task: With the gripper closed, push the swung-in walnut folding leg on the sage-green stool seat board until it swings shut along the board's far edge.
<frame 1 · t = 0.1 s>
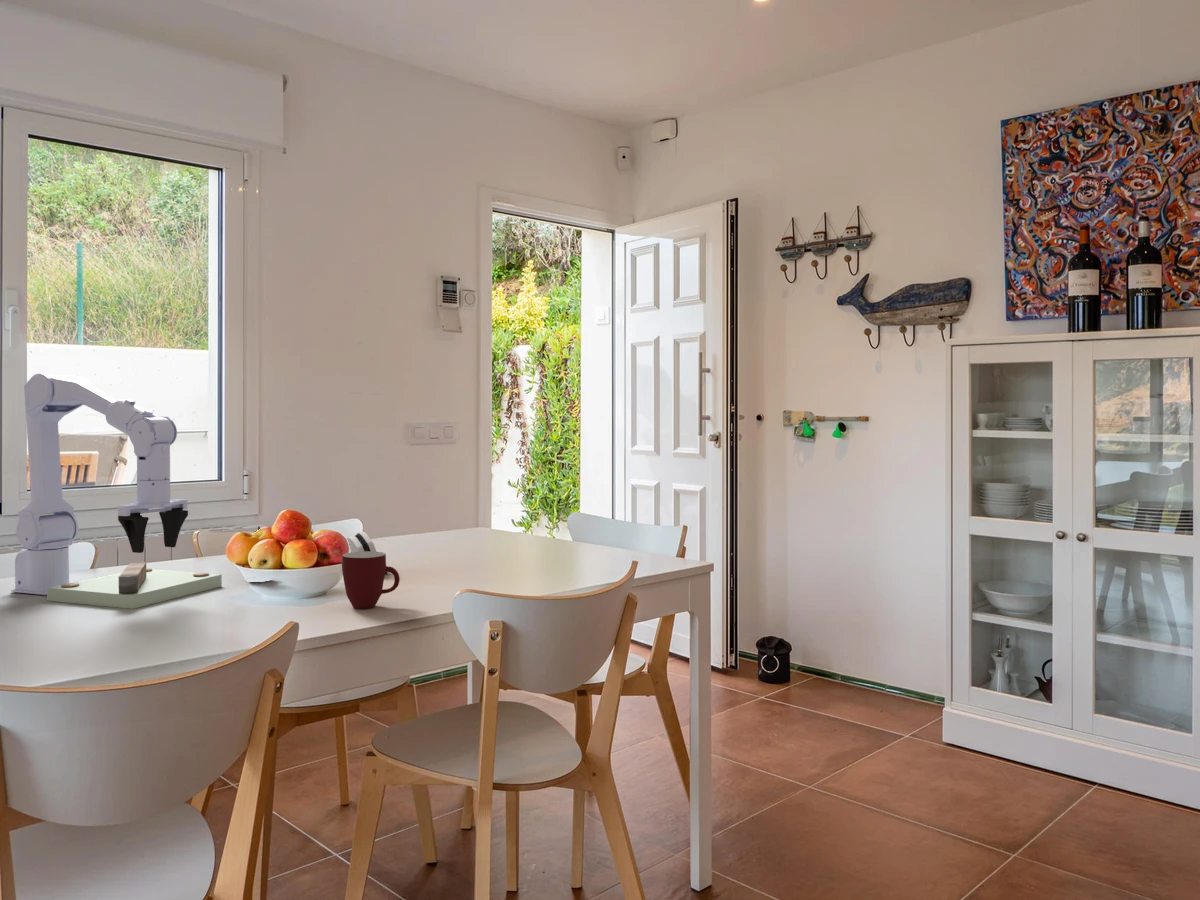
hand: (154, 549, 169), 10 cm above the table, tool pointing down, fingers open, 7 cm apart
folding leg: (132, 577, 171), point 4 cm above the table, hinge at 40.0°
mug: (370, 607, 166), on the table
salt shaker: (259, 581, 191), on the table
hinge: (366, 571, 206), on the table
stool seat: (138, 593, 177), on the table
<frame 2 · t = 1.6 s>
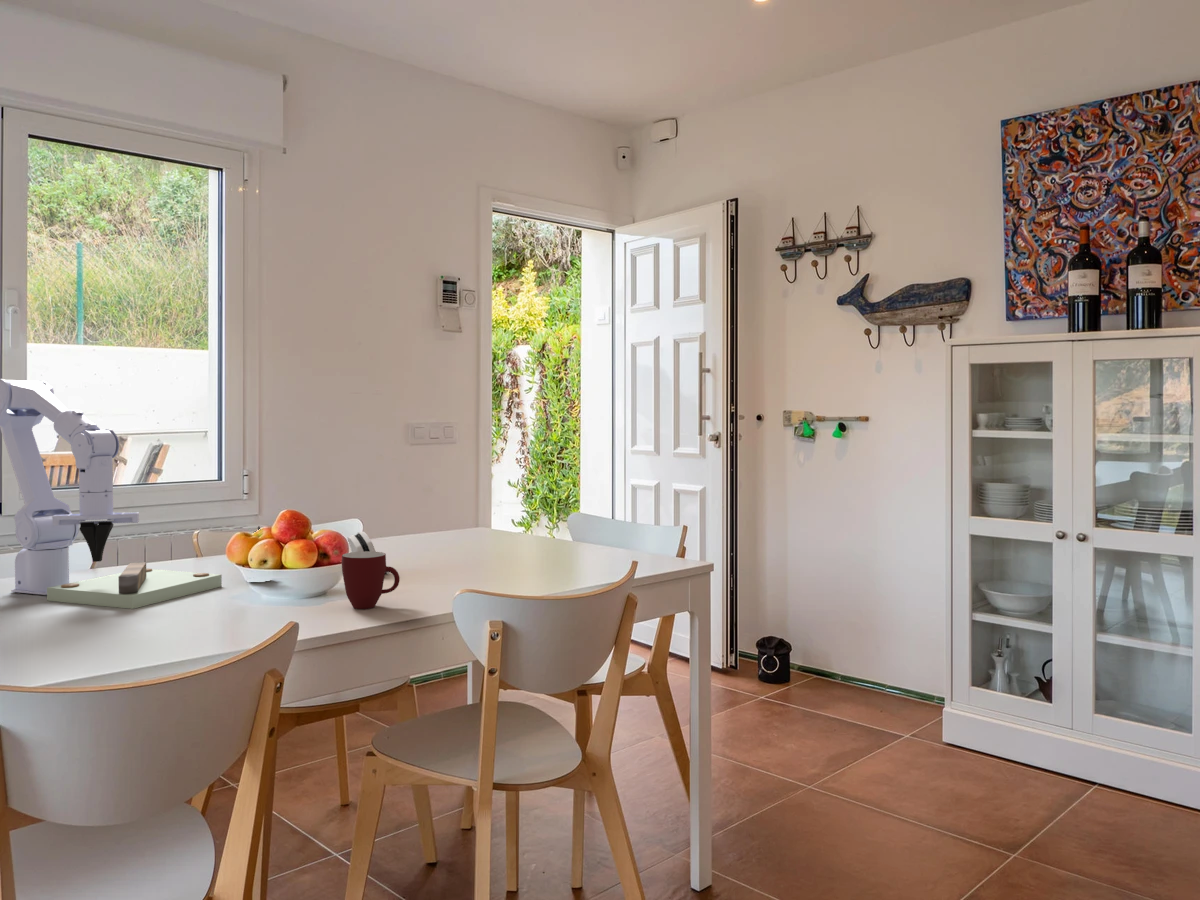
hand: (97, 560, 171), 7 cm above the table, tool pointing down, fingers closed
nothing on the table moved.
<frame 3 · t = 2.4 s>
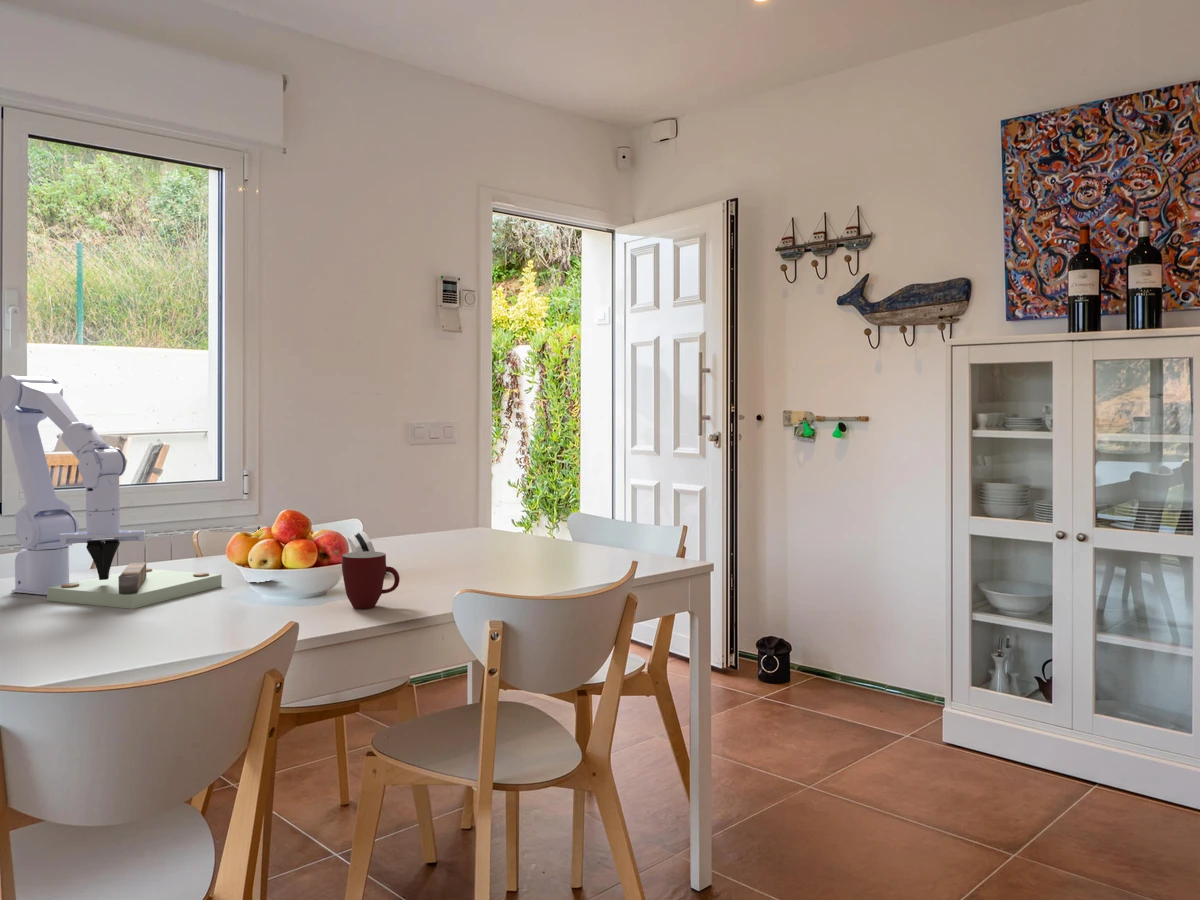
hand: (103, 579, 172), 4 cm above the table, tool pointing down, fingers closed
nothing on the table moved.
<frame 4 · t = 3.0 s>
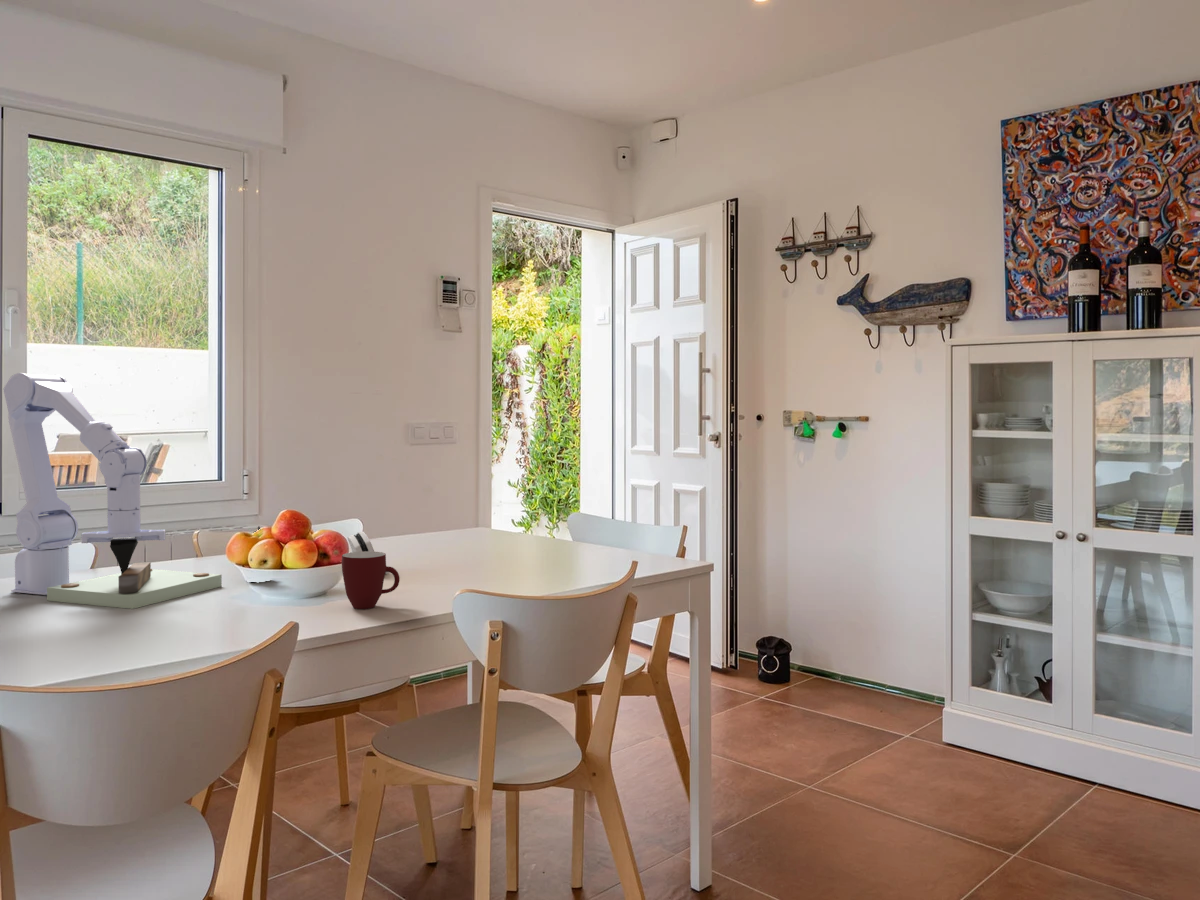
hand: (124, 577, 173), 4 cm above the table, tool pointing down, fingers closed
folding leg: (134, 577, 171), point 4 cm above the table, hinge at 37.1°, touching gripper
everything else where it was.
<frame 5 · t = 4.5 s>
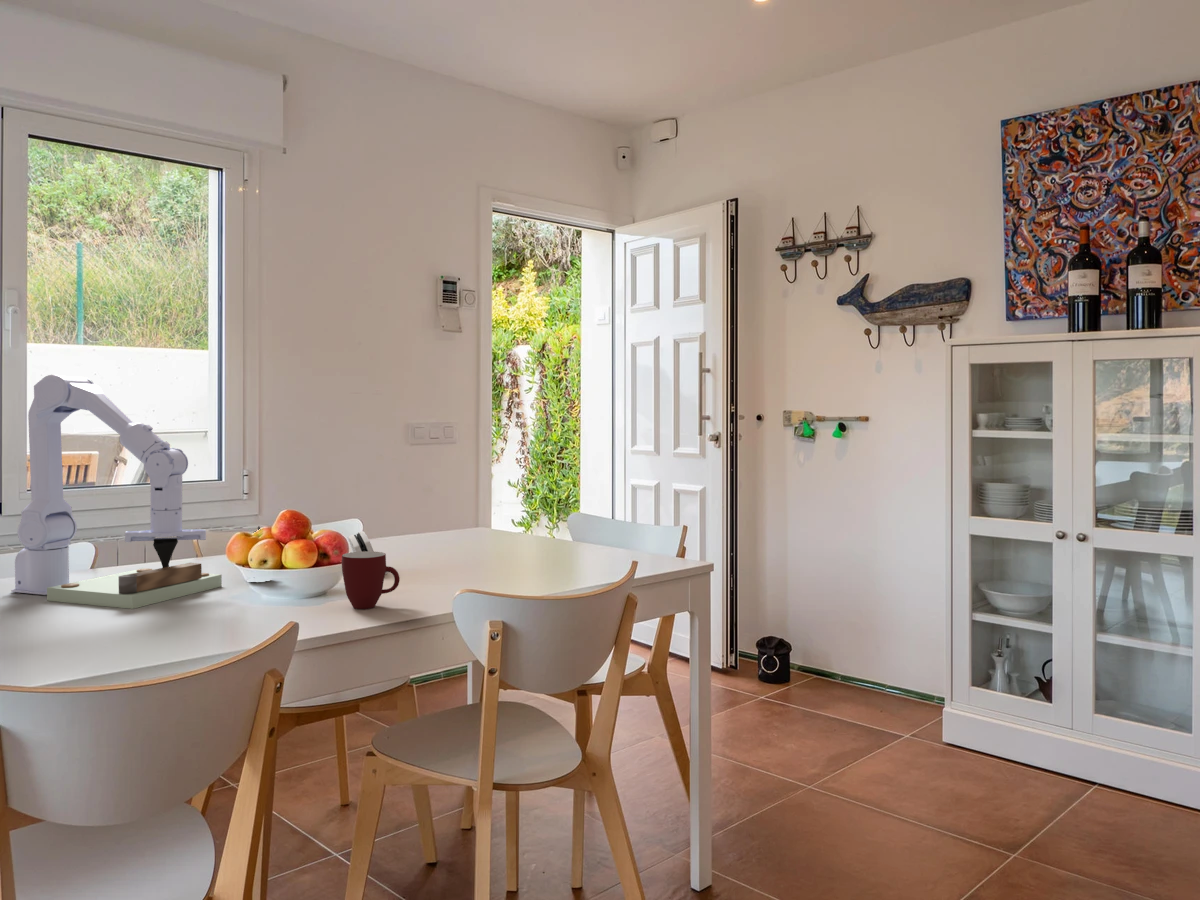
hand: (166, 576, 176), 4 cm above the table, tool pointing down, fingers closed, pressing on folding leg
folding leg: (160, 577, 171), point 4 cm above the table, hinge at -3.4°, touching gripper
everything else where it was.
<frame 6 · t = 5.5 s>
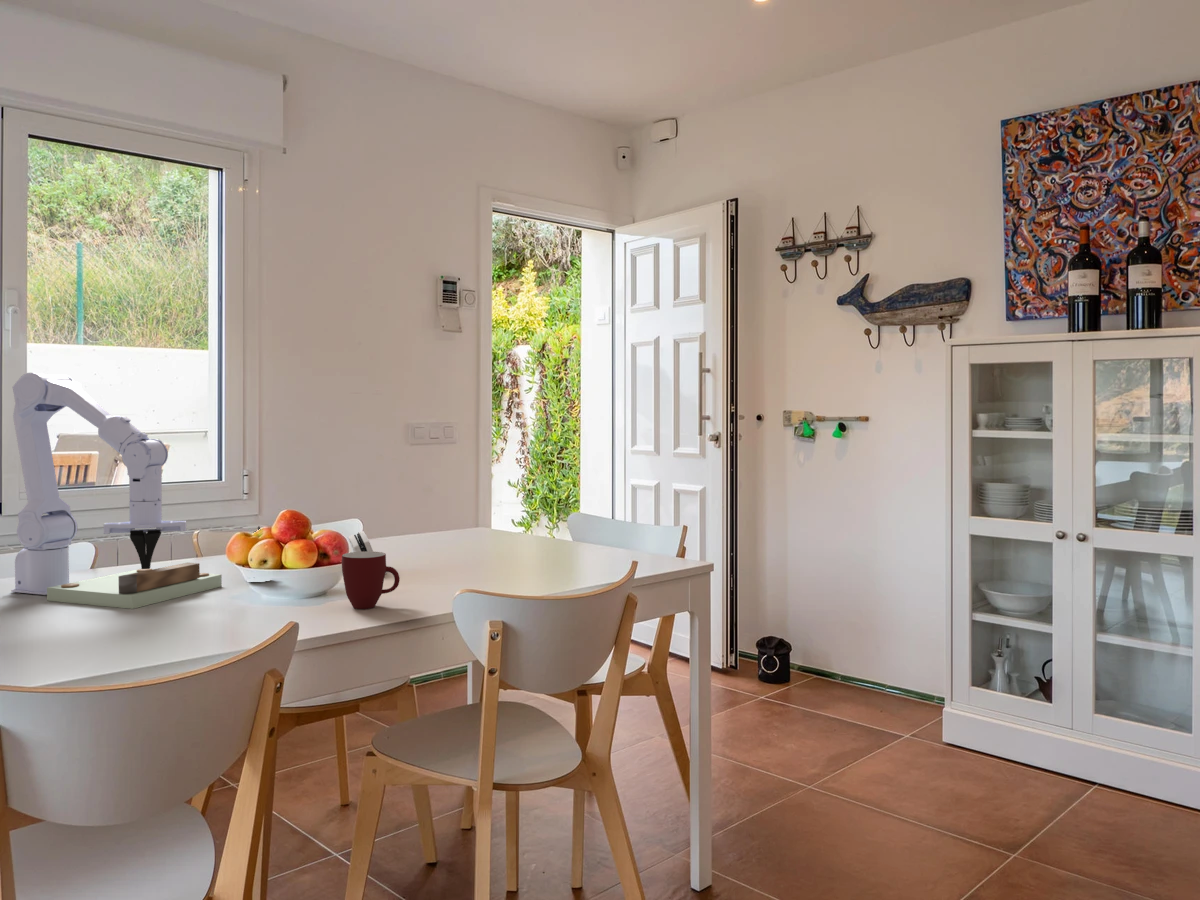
hand: (146, 568, 175), 5 cm above the table, tool pointing down, fingers closed
folding leg: (159, 577, 171), point 4 cm above the table, hinge at -1.4°
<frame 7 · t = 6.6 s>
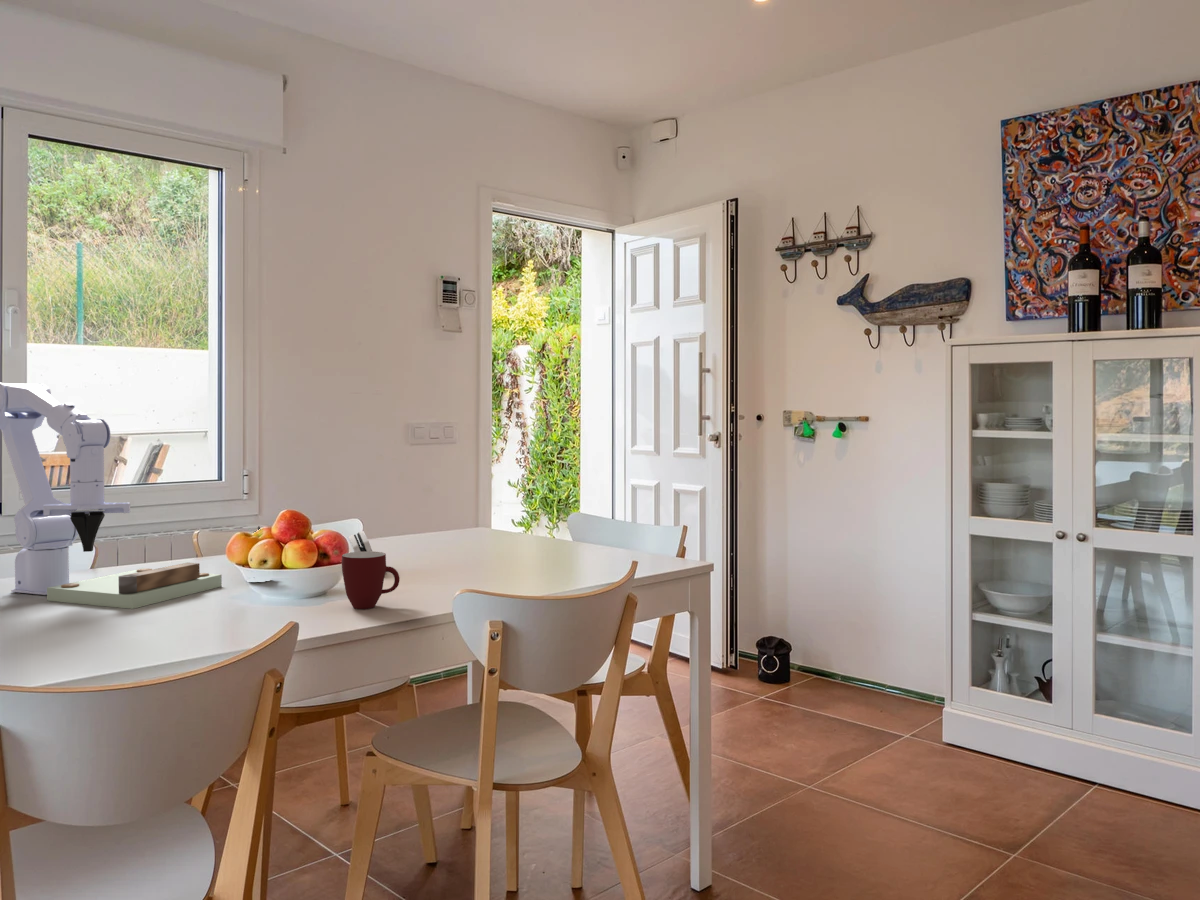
hand: (88, 550, 171), 9 cm above the table, tool pointing down, fingers closed
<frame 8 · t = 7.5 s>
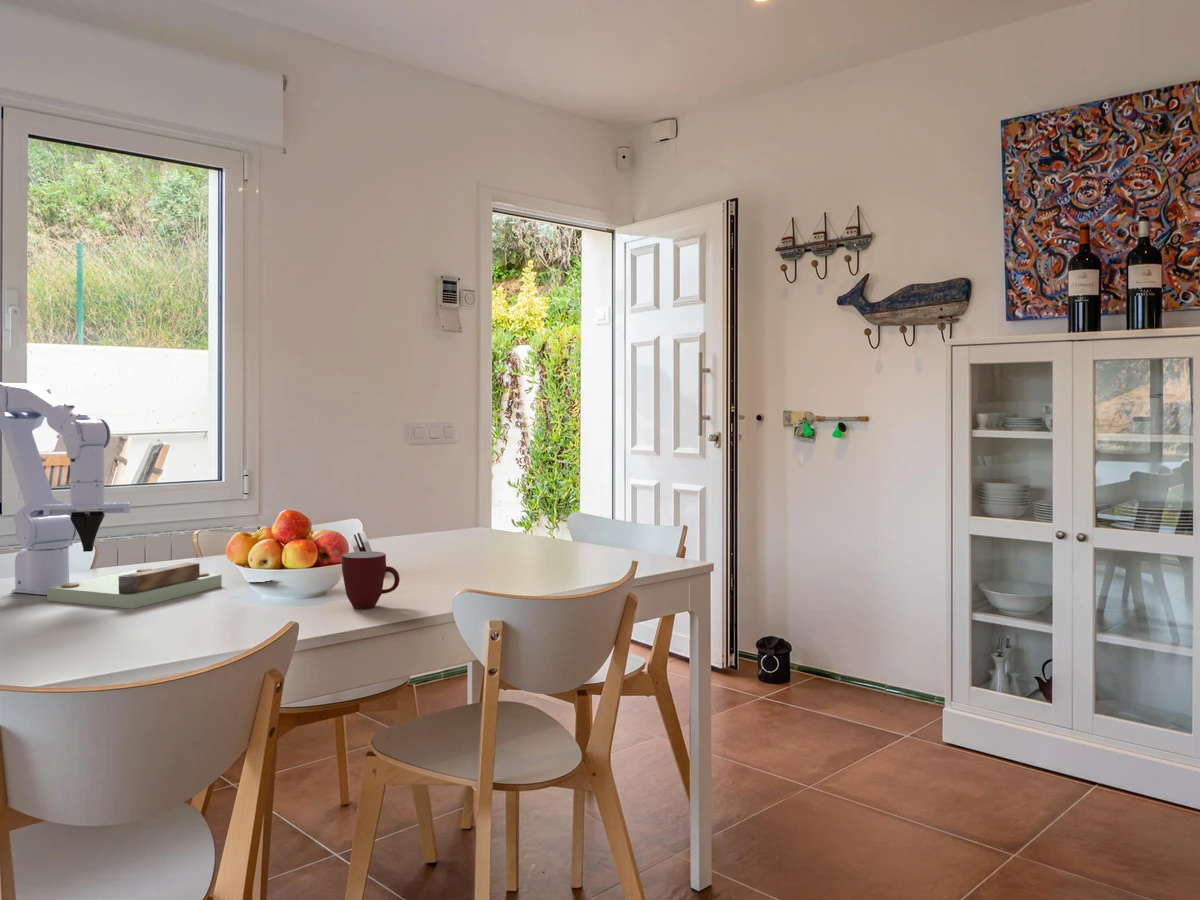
hand: (88, 550, 171), 9 cm above the table, tool pointing down, fingers closed
at the end: folding leg at -1° (first picture: +40°) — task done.
